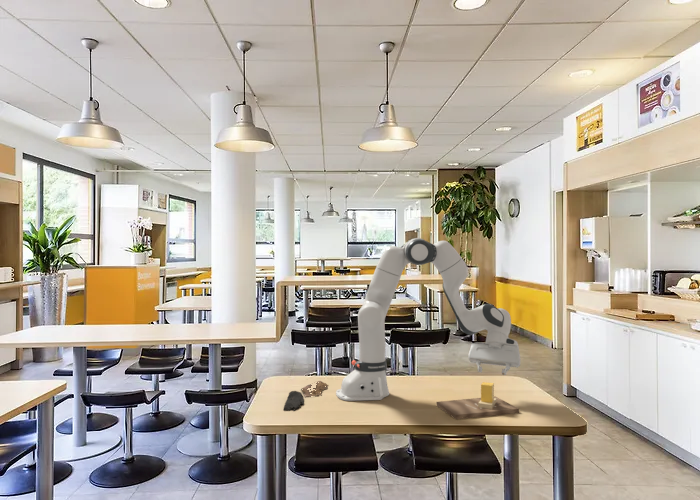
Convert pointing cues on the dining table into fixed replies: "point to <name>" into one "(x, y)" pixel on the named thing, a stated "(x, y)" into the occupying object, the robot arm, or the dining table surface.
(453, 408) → the walnut board
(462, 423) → the dining table surface
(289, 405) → the dark grey tapered piece
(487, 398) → the block
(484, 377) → the dining table surface
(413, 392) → the dining table surface
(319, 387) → the wooden fragment
